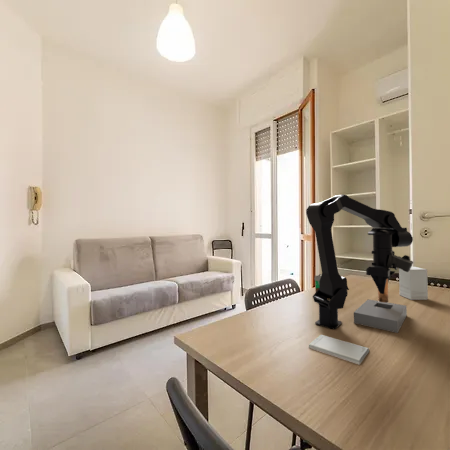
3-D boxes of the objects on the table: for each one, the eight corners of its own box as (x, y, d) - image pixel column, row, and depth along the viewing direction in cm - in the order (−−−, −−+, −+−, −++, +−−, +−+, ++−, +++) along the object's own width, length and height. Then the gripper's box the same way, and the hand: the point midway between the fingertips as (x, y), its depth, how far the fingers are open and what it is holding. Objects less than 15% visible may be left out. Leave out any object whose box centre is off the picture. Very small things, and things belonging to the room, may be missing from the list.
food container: (329, 301, 107) (329, 277, 107) (314, 298, 111) (314, 275, 111) (337, 294, 117) (336, 272, 117) (323, 292, 121) (323, 270, 121)
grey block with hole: (397, 332, 76) (397, 321, 76) (353, 322, 84) (353, 312, 84) (406, 315, 89) (406, 305, 89) (368, 308, 98) (368, 299, 97)
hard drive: (369, 347, 66) (321, 333, 74) (359, 360, 60) (308, 343, 68) (369, 353, 66) (321, 339, 74) (359, 367, 60) (308, 349, 68)
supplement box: (428, 299, 106) (428, 269, 106) (410, 300, 106) (409, 269, 106) (415, 294, 114) (415, 266, 114) (398, 295, 114) (398, 266, 114)
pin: (387, 303, 88) (386, 276, 88) (377, 301, 90) (376, 275, 90) (389, 300, 90) (388, 275, 90) (379, 299, 92) (378, 274, 92)
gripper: (406, 251, 77) (407, 303, 77) (414, 246, 91) (415, 290, 91) (365, 249, 85) (366, 297, 85) (378, 245, 98) (379, 286, 99)
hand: (383, 292), depth 90 cm, fingers closed on pin, 3 cm apart
